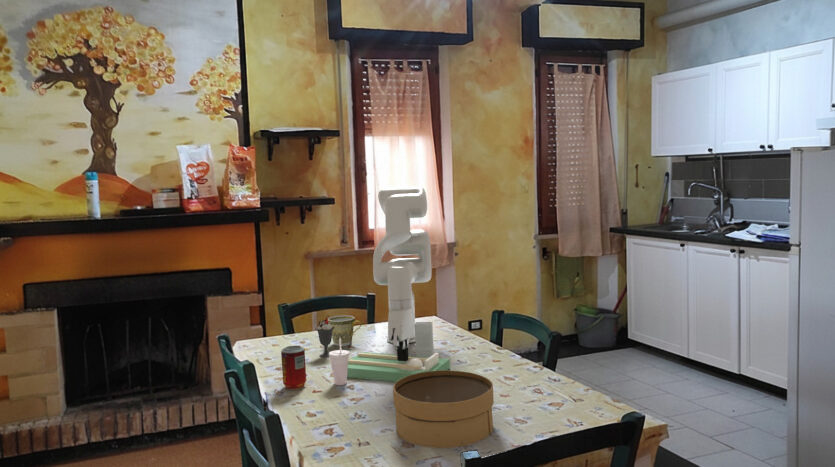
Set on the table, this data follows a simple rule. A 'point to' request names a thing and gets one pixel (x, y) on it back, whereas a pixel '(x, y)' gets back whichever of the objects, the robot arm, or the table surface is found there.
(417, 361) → the ball
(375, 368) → the green
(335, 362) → the smoothie
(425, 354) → the skincare box
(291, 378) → the soda can
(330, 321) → the ceramic cup
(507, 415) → the table surface
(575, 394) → the table surface
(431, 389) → the steamer basket
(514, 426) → the table surface
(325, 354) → the sundae
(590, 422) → the table surface
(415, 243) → the robot arm
